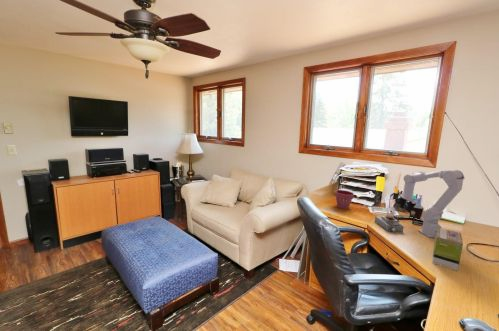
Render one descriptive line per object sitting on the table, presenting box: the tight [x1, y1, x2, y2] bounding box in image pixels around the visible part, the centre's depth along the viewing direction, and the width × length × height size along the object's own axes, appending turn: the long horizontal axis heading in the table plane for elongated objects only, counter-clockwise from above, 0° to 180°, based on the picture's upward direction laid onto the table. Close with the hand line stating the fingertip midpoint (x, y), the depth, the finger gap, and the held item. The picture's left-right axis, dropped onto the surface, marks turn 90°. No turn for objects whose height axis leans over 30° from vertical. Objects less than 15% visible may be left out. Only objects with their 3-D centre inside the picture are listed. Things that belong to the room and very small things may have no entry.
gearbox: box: [374, 215, 404, 233], centre depth 157 cm, size 18×10×6 cm, turn 179°
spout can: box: [386, 210, 395, 220], centre depth 158 cm, size 4×4×7 cm
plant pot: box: [334, 189, 355, 210], centre depth 193 cm, size 14×14×13 cm
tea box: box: [431, 227, 464, 272], centre depth 118 cm, size 15×10×15 cm, turn 141°
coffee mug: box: [404, 204, 425, 220], centre depth 174 cm, size 12×9×10 cm
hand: (405, 209), depth 164 cm, fingers open, 7 cm apart
